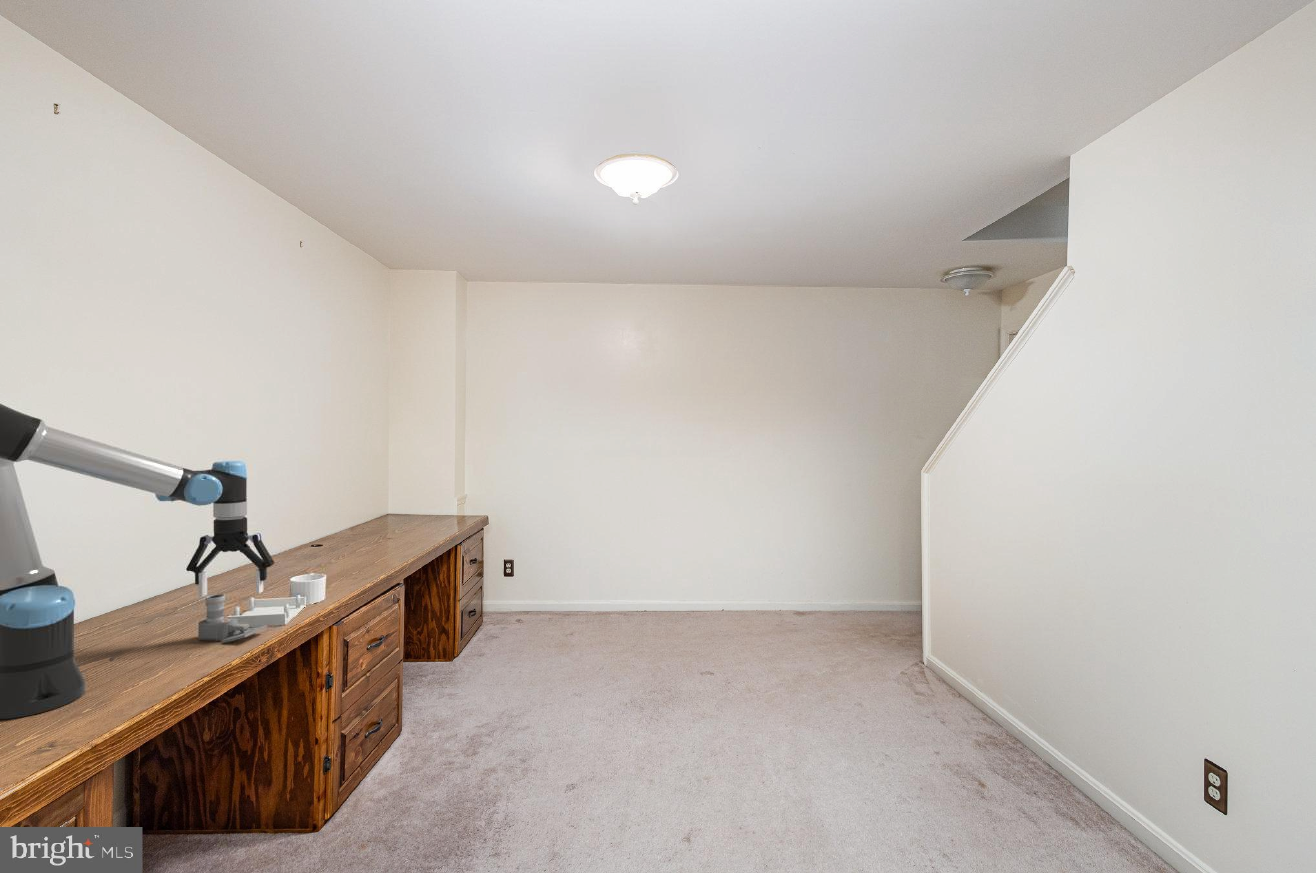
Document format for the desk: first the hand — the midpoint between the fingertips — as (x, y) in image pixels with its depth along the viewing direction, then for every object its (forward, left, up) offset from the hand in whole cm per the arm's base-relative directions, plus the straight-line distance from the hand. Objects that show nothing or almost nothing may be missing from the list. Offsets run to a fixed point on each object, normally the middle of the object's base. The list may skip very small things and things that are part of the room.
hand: (231, 594), depth 162 cm
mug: (+35, -9, -12) cm, 38 cm away
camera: (0, 0, -12) cm, 12 cm away
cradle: (+18, -3, -12) cm, 22 cm away
